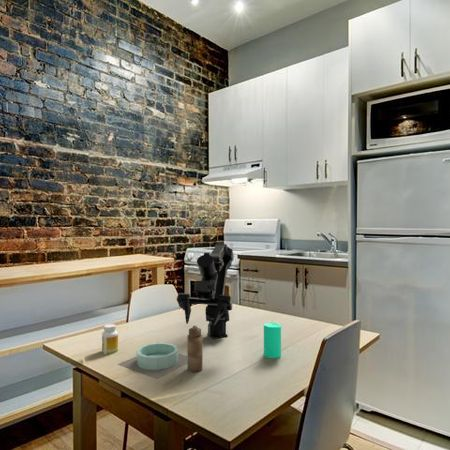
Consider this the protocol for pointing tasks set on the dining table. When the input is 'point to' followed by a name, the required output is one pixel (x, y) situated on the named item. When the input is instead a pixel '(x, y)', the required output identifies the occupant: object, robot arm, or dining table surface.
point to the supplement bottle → (109, 339)
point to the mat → (154, 373)
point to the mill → (194, 350)
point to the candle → (272, 340)
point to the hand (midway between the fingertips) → (200, 324)
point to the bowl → (157, 356)
